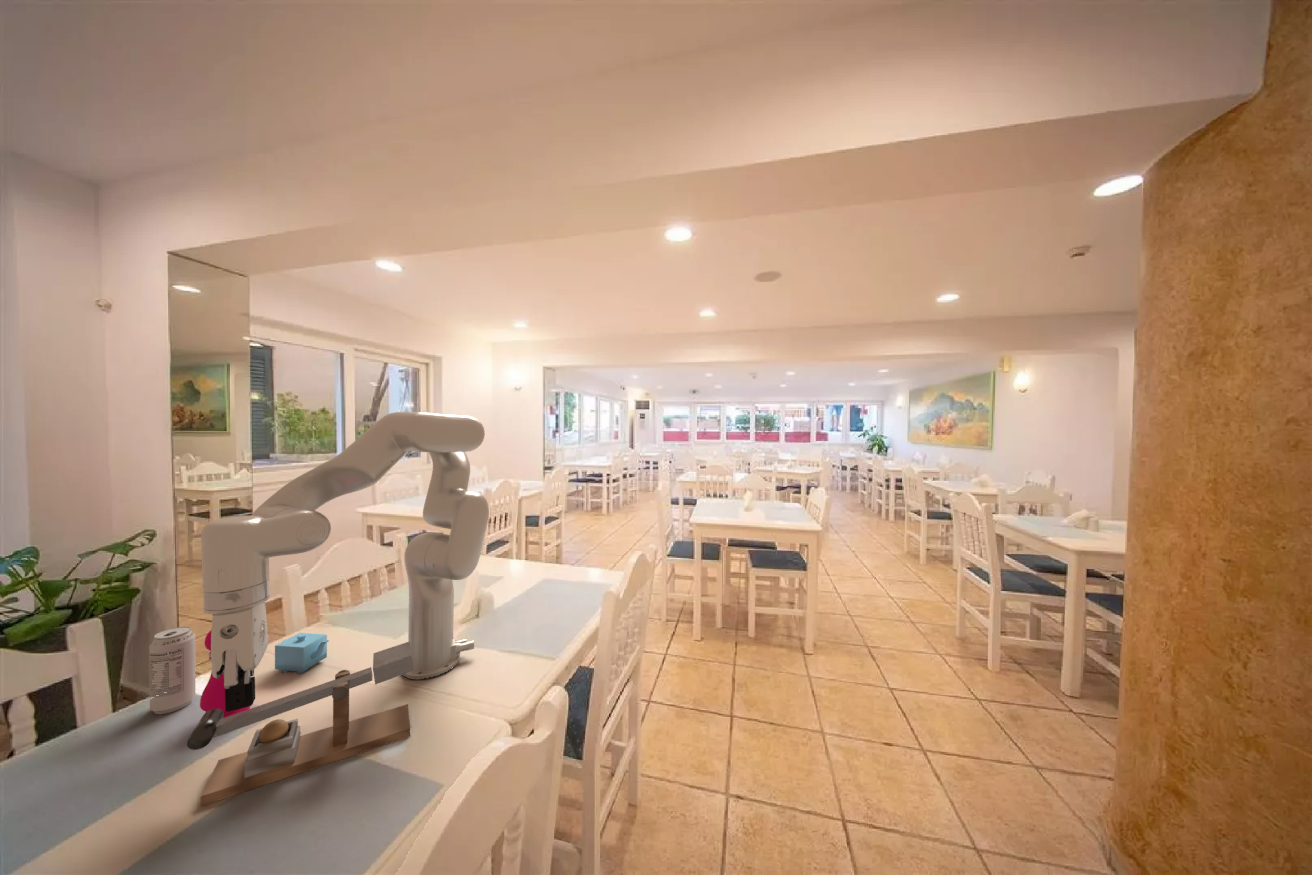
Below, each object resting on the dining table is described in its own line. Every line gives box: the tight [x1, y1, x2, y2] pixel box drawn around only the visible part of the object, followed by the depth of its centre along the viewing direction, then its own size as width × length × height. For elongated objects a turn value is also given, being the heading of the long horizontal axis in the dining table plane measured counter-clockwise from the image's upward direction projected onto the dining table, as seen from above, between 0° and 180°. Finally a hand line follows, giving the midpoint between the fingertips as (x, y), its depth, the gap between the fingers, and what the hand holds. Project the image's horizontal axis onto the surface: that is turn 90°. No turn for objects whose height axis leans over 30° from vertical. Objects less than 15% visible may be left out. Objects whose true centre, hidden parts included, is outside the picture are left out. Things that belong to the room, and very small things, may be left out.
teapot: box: [274, 632, 330, 675], centre depth 98 cm, size 12×6×8 cm, turn 85°
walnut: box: [259, 718, 288, 744], centre depth 70 cm, size 4×4×4 cm
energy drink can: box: [148, 626, 196, 715], centre depth 84 cm, size 6×6×15 cm
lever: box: [186, 641, 414, 751], centre depth 73 cm, size 29×6×3 cm, turn 123°
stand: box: [200, 669, 411, 807], centre depth 73 cm, size 27×8×12 cm, turn 123°
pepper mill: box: [199, 629, 251, 718], centre depth 81 cm, size 7×7×20 cm
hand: (240, 705), depth 68 cm, fingers closed
